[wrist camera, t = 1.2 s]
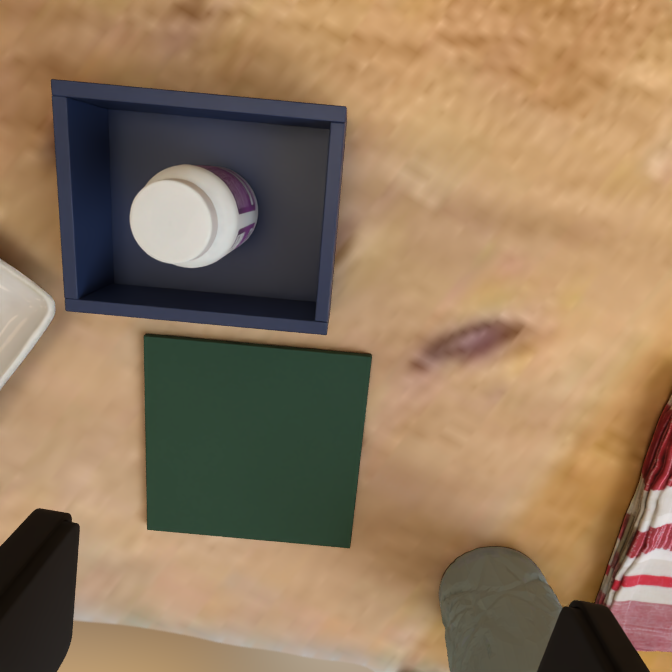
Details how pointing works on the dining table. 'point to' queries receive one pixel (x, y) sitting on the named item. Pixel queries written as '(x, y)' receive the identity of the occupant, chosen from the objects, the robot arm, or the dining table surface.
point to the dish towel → (646, 552)
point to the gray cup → (496, 612)
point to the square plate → (20, 318)
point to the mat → (253, 439)
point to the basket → (208, 150)
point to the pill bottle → (193, 214)
